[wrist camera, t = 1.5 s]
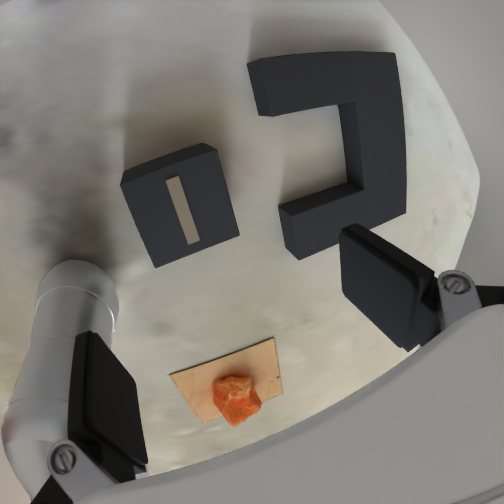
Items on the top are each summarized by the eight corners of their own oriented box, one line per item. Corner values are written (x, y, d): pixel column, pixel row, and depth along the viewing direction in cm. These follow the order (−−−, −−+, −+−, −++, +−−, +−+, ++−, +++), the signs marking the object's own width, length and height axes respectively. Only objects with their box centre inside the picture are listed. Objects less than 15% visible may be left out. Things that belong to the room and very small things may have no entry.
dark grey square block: (123, 171, 19) (119, 184, 15) (203, 142, 20) (217, 149, 16) (151, 243, 22) (155, 269, 18) (223, 215, 23) (240, 236, 20)
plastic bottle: (35, 254, 18) (-37, 517, 2) (113, 244, 21) (127, 550, 4) (57, 319, 21) (46, 552, 5) (126, 312, 23) (169, 558, 7)
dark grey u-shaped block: (246, 63, 18) (259, 58, 16) (376, 53, 21) (395, 52, 18) (285, 248, 26) (298, 261, 24) (390, 204, 29) (406, 213, 27)
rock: (272, 336, 31) (290, 363, 28) (282, 392, 38) (295, 415, 34) (169, 374, 28) (177, 406, 25) (201, 423, 35) (210, 448, 31)
